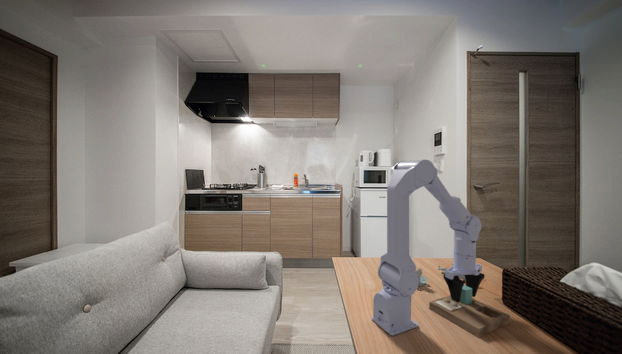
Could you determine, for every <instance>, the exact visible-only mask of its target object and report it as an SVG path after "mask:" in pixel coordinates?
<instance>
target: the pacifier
mask: <svg viewBox="0 0 622 354" xmlns="http://www.w3.org/2000/svg"><path fill="white" fill-rule="evenodd" d="M416 273H417V275H418V278H419V284H418V287H421V286H422V285H425V284H427V282H428V279H427V277H426V276H423V275H422V274H423V270H422V268H420V267H419V268H417V269H416Z"/></svg>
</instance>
